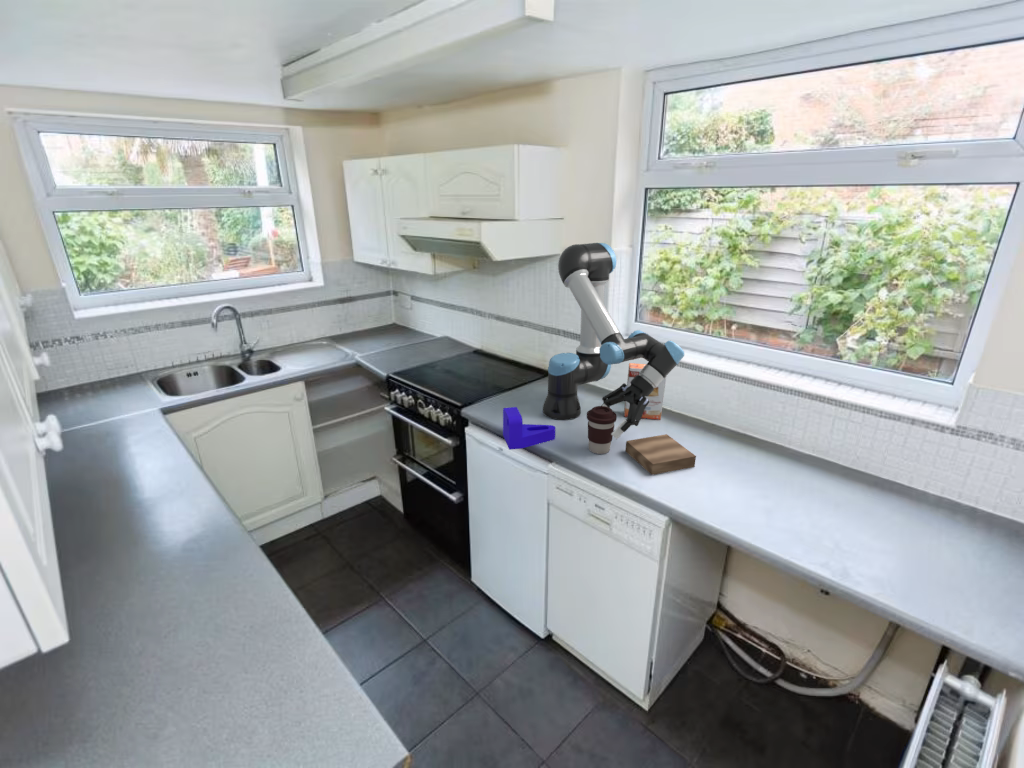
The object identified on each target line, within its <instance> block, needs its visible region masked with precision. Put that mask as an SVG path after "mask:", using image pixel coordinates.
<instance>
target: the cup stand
mask: <svg viewBox="0 0 1024 768" xmlns="http://www.w3.org/2000/svg"><path fill="white" fill-rule="evenodd" d="M625 452H626V453H627V454H628V455H629V456H630V457H631V458H632V459H634V460H635V462H637V463H638V464H639V465H640V466H641V467H642V468H643V469H644V470H645V471H646V472H647V473H649V474H650V475H651V476H654V475H659V474H664V473H670V472H674V471H681V470H686V469H690V468H695V465H696V461H697V460H696V458H697V455H695V454H694V453H693V452H692V451H690V450H689V449H688V448H686V447H684V446H683V445H682V444H681V443H679V442H678V441H676V439H674V438H673V437H671V436H670V435H669V434H667V433H666V434H661V435H654V436H649V437H648V436H647V437H642V438H636V439H631V440H630V439H629V440H626V442H625Z"/></svg>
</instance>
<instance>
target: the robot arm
mask: <svg viewBox="0 0 1024 768" xmlns="http://www.w3.org/2000/svg"><path fill="white" fill-rule="evenodd" d="M616 265H617V256H616V253H615V251H614V249H613V248H612V247H611V246H610V245H609V244H607V243H605V242H591V243H581V244H580V243H579V244H577V243H576V244H572V245H569V246H568V247H566V248H565V249H564V250H563V251H562V253H561V254H560V256H559V258H558V263H557V267H558V273H559V274H558V275H559V277H560V280H561V281H562V284H563V285H564V287H565V288H568V289H569V290H570V292H571V293H572V296H573V297H574V299H575V301H576V302H577V304H578V307H579V308H580V333H579V334H580V337H579V338H580V340H579V345H578V346H577V347H576V349H575V353H574V352H566V353H565V352H561V353H557V354H555V355H553V356H552V357H550V358H549V361H548V367H547V371H548V376H547V378H548V379H547V394H546V397H545V399H544V402H543V405H542V413H543V415H544V416H546V417H548V418H550V419H554V420H559V421H568V420H574V419H576V418H579V417H580V415H581V413H582V411H581V409H582V407H581V404H580V399H579V396H578V386H581V385H585V384H586V385H587V384H590V383H592V382H598V381H600V380H603V379H605V378H606V377H608V375H609V374H610V372H611V368H612V365H618V364H621V363H624V362H629V361H634V360H638V359H644V360H646V361H647V363H646V365H645V366H644V367H643V368H642V369H641V371H640V372H639V375H636V376H635V377H634V378H633V380H632V381H631V385H630V386H629V387H628V386H627V383H624V382H623V383H622V384H621V385H620V386H619V387H617V388H616V389H614V390H613V391H611V392H610V393H608V394H606V395H604V396H602V398H601V400H602V402H603V403H602V404H601V405H600V406H605V407H609V408H610V409H611V407H612V406H614V405H617V404H620V403H622V402H625V401H627V402H628V403H630V407H629V412H628V416H627V417H626V418H625V419H623V420H622V421H621V423H620V424H619V425H618V426H617V427H616V428H614V431H613V433H612V434H611V435H612V436H613V437H612V438H614V439H616V440H618V439H619V438H620V437H621V436H622V435H623V434H624V433H625V432H627V430H629V428H630V427H631V426H635V427H638V426H639V424H640V422H641V419H642V418H641V417H642V415H643V412H644V410H645V408H646V406H647V405H648V403H649V400H648V399H647V398H646V397H647V396H649V395H650V394H651V393H652V391H653V390H654V388H653V387H657V386H658V385H659V384H660V382H661V381H662V380H663V379H664V378H665V377H666V376H667V377H668V375H669V374H670V373H671V371H672V370H674V369H675V368H676V366H678V365H679V363H680V362H681V361H682V359H683V358H684V357H685V351H684V350H683V348H682V347H681V346H680V345H679V344H677V342H674V341H671V340H667V341H666V342H665V343H662V342H660V341H659V340H658V339H656V338H654V337H652V336H651V335H649V334H648V333H646V332H644V331H642V330H640V329H639V330H638V329H637V330H634V331H633V332H631V333H630V334H629V335H628V337H627V338H624V335H623V334H621V332H620V330H619V327H618V326H617V325H616V323H615V321H614V319H613V318H612V316H611V315H610V314H611V313H609V311H608V310H607V307H606V306H605V287H606V286H605V285H606V284H607V283H608V282H609V280H610V274H612V273H613V272H614V270H615V269H616ZM667 377H666V378H667ZM645 396H646V397H645Z"/></svg>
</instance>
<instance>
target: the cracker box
mask: <svg viewBox="0 0 1024 768" xmlns="http://www.w3.org/2000/svg"><path fill="white" fill-rule="evenodd" d="M646 364H647V363H646ZM646 364H645V363H634V362H633V363H631V362H629V364H628V372H627V381H626V385H627V386H628V387H629V386H630V385H631V381H632V380H633V378H634V377H635V376H636V375H639V372H640V371H641V369H642V368H643V367H644V366H645V365H646ZM667 377H668V375H667V376H666V377H665V378H664V379H663V380H662V381H661V382H660V384H659V385H658V386H657V387H653V388H654V390H653V391H652V393H651V394H650V395H649V396H647V397H646V396H645V397H646V398H647V399H648V400H649V403H648V405H647V406H646V408H645V410H644V412H643V415H642V417H641V419H646V418H647V419H649V420H657V419H658V420H660V421H661V418H662V412H663V411H662V410H663V405H664V404H663V403H664V397H665V391H666V390H665V389H666V382H667ZM629 407H630V403H628V402H627V401H624V409H623V413H624V417H625V418H627V416H628V412H629Z"/></svg>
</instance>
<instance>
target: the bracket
mask: <svg viewBox="0 0 1024 768" xmlns="http://www.w3.org/2000/svg"><path fill="white" fill-rule="evenodd" d="M556 429H557V428H556V426H555V425H551V424H532V423H529V424H528V423H524V422H523V417H522V415H521V412H520V411H519V409H518V406H513V407H511V406H510V407H504V408H503V409H502V436H503V438H504V439H503V440H504V441H505V442H506V446H507V448H508V450H509V451H510V450H518V449H519V450H520V449H526V448H528V447H532V446H535V445H539V443H540V444H543V442H544V443H547V441H548V442H551V441H554V440H555V439H556ZM550 440H551V441H550Z"/></svg>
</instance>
